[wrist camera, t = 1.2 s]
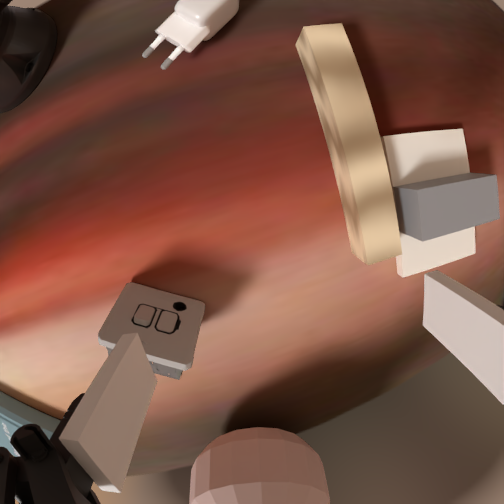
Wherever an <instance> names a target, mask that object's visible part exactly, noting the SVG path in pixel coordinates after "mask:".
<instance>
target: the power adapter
mask: <svg viewBox="0 0 504 504" xmlns="http://www.w3.org/2000/svg"><path fill="white" fill-rule="evenodd" d="M174 9H175V12H173V13H172V14H171V15H170V16H169V17H168V18H167V19H166V20H165V21H164V22H163V23H162V24H161V25H160V26H159V27H158V28H157V29H156V30H155V32H156V33H157V34H158V35H159V36H158V37H157V38H156V40H155V41H154V42H153V43H152V44H151V45H150V46H149V47H148V48H147V49H146V50H145V51H144V53H143V54H142V56H143V57H144V58H147V57H148V56H149V55H150V54H151V53H152V52H153V51H154V49H155V48H156V47H157V46H158V45H159V44H160V43H161V42H162V41H163V40H164V39H165V40H167V41H169V42H170V43H172V44H174V45H175V46H177V48H176V49H175V50H174V52H173V53H172V54H171V55H170V56H169V57H168V58H167V59H166V60H165V61H164V62H163V63H162V64H161V68H162V69H163V70H165V69H167V68H168V67H169V65H170V64H171V63H172V62H173V61H174V59H175V58H176V57H177V56H178V55H179V54H180V53H181V52H182V51H183V50H184V51H186V52H187V53H191V52H192V51H193V49H194V48H195V47H196V46H197V45H198V44H199V43H200V42H201V41H202V40H203V41H207V40H209V39H211V38H212V37H213V36H214V35H215V34H216V33H217V32H218V31H219V30H220V29H221V28H222V27H223V26H224V25H225V24H226V23H227V22H228V21H230V20H231V19H232V18H233V17H234V16H235V14H236V13H237V11H238V10H239V0H179V1H178V2H177V4H176V6H175V8H174Z"/></svg>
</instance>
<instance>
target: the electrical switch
mask: <svg viewBox="0 0 504 504" xmlns="http://www.w3.org/2000/svg"><path fill="white" fill-rule="evenodd" d="M204 312H205V304H204V303H203V302H202V301H199V300H195V299H191V298H187V297H183V296H180V295H176V294H172V293H169V292H165V291H161V290H158V289H154V288H150V287H147V286H143V285H140V284H136V283H133V282H130V283H127V284H126V286H125V287H124V289H123V291H122V292H121V294H120V296H119V298H118V299H117V301H116V303H115V304H114V306H113V308H112V310H111V311H110V313H109V315H108V317H107V319H106V320H105V322H104V324H103V326H102V328H101V329H100V331H99V333H98V341H99V344H100V345H102V346H105V347H106V348H107V350H108V355H110V353H111V352H112V350H113V348H114V347H115V345H116V344H117V342H118V341H119V339H120V338H121V336H122V335H123V334H130V333H138V335H139V338H140V340H141V343H142V346H143V348H144V351H145V353H146V356H147V358H148V360H149V363H150V365H151V368H152V370H153V372H154V373H156V374H160V375H163V376H167V377H171V378H174V379H178V380H179V379H181V378H180V375H182V372H183V370H185V371H186V370H188V369H189V368H191V367H192V363H193V359H194V357H193V356H194V351H195V347H196V343H197V338H198V334H199V330H200V326H201V322H202V318H203V316H204ZM152 362H153V364H152Z"/></svg>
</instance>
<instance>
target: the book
mask: <svg viewBox="0 0 504 504" xmlns="http://www.w3.org/2000/svg"><path fill="white" fill-rule="evenodd" d="M60 421H61V420H58V419H56V418H54V417H51V416H49V415H47V414H45V413H42V412H40V411H38V410H36V409H34V408H32V407H30V406H28V405H26V404H24V403H22V402H20V401H18V400H16V399H14V398H12V397H10V396H8V395H6V394H4V393H3V392H1V391H0V447H5V448H7V449H8V451H9V452H10V453H11V454H12V455H14V456H16V457H17V456H20V455H19V453H18V452H17V451H16V450H15V449H14V447H13V446H12V445H11V443H10V440H11V437H12V435H13V433H14V432H15V431H16V430H17V429H18V428H20V427H21V426H23V425H26V424H37V425H39V426H40V427H41V429H42V430H43V432H44V433H45V434H46V436H47V437H48V438H49V440H50V438H51V436H52V434H53V433H54V431H55V429H56V428H57V426H58V424H59V423H60Z"/></svg>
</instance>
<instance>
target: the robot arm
mask: <svg viewBox="0 0 504 504" xmlns="http://www.w3.org/2000/svg"><path fill="white" fill-rule="evenodd" d="M11 1H12V0H0V113H3V112H6V111H9V110H11V109H13V108H15V107H16V106H18V105H19V104H20V103H22V102H23V101H24V100H25V99H26V98H27V97H28V96H29V95H30V94H31V93H32V91H33V90H34V89H35V88H36V86H37V85H38V84H39V82H40V81H41V79H42V77H43V76H44V74H45V72H46V70H47V68H48V66H49V64H50V62H51V59H52V57H53V54H54V51H55V47H56V41H57V29H56V25H55V22H54V20H53V19H52V18H51V17H50V16H49V15H47V14H46V13H44V12H43V11H41V10H39V9H36V8H20V7H15V6H7V5H8V4H9V3H10V2H11ZM423 326H424V327H425V328H426V329H427V330H428V331H429V332H430V333H431V334H432V335H434V336H435V337H436V338H437V339H438V340H439V341H440V342H441V343H442V344H443V345H444V346H445V347H446V348H447V349H448V350H449V351H450V352H451V353H452V354H454V355H455V356H456V357H457V358H458V359H459V360H460V361H461V362H462V363H463V364H464V365H465V366H466V367H467V368H468V369H469V370H470V371H471V372H472V373H473V374H474V375H475V376H476V377H477V378H478V379H479V380H480V381H481V382H482V383H483V384H484V385H485V386H486V387H487V388H488V389H489V390H490V391H491V392H492V393H493V395H495V397H497V399H498V400H499V401H500V402H501V403H502V404H504V307H502V306H499V305H495V304H494V303H492V302H490V301H489V300H487V299H485V298H484V297H482V296H481V295H479V294H477V293H476V292H474V291H472V290H471V289H469V288H467V287H466V286H464V285H462V284H461V283H459V282H457V281H455V280H454V279H452V278H450V277H448V276H447V275H445V274H443V273H441V272H440V271H438V270H436V271H432V272H429V273H425V280H424V314H423ZM156 384H157V379H156V377H155V375H154V372H153V370H152V368H151V365H150V363H149V360H148V358H147V356H146V353H145V351H144V348H143V346H142V343H141V340H140V338H139V335H138V333H130V334H123V335H122V336H121V338H120V339H119V341H118V342H117V344H116V345H115V347H114V348H113V350H112V352H111V353H110V355H109V356H108V358H107V359H106V361H105V362H104V364H103V366H102V367H101V369H100V370H99V372H98V373H97V375H96V377H95V378H94V380H93V381H92V383H91V385H90V386H89V388H88V390H87V391H86V393H82V394H80V395H79V396H78V397H77V398H76V399H75V400H74V401H73V402H72V403H71V405H70V406H69V408H68V410H67V411H68V412H66V413H65V415H64V416H63V419H61V421H60V423H59V424H58V426H57V428H56V429H55V431H54V433H53V434H52V436H51V438H50V440H49V438H48V437H47V436H46V434H45V433H44V432H43V430H42V429H41V427H40V426H39V425H37V424H26V425H23V426H21V427H20V428H18V429H17V430H16V431H15V432H14V433H13V435H12V437H11V440H10V443H11V445H12V446H13V447H14V449H15V450H16V451H17V452H18V453H19V455H20V456H17V457H13V455H12V454H11V453H10V452H9V451H8V449H7V448H5V447H0V504H15V499H16V500H17V501H18V502H19V504H100V502H99V500H98V498H97V496H96V494H95V493H94V492H93V490H91V486H92V483H93V481H94V482H95V483H96V484H97V485H98V487H99V488H100V489H101V490H103V491H110V492H118V493H121V491H122V487H123V484H124V480H125V477H126V474H127V471H128V468H129V465H130V461H131V458H132V455H133V452H134V449H135V446H136V443H137V440H138V437H139V434H140V431H141V428H142V425H143V422H144V419H145V416H146V413H147V410H148V407H149V404H150V401H151V398H152V395H153V392H154V390H155V387H156Z"/></svg>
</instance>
